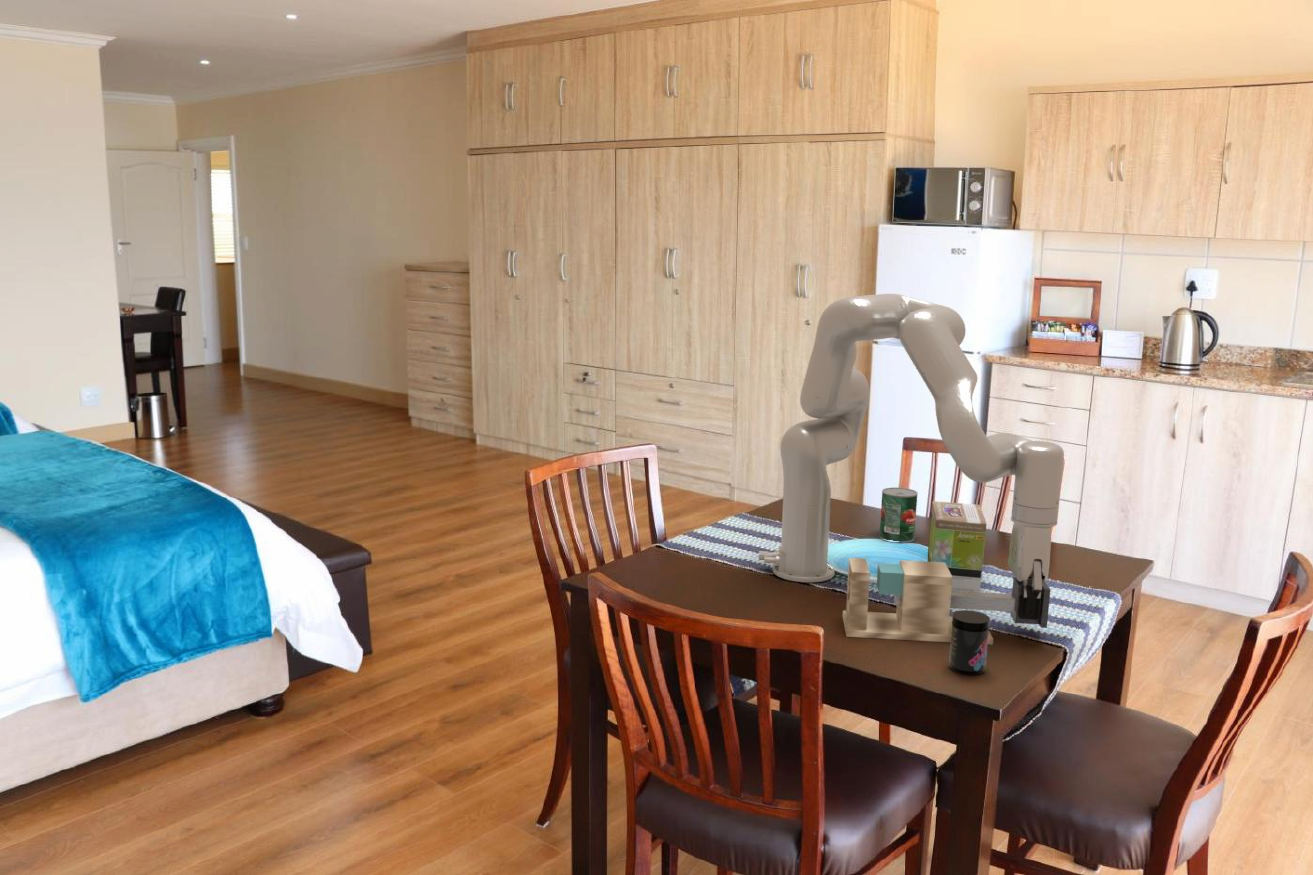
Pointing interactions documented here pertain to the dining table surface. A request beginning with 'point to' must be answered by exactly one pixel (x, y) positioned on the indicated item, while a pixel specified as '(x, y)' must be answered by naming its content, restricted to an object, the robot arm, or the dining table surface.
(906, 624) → the wooden slotted block
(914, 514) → the canned tomato
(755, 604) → the dining table surface
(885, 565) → the spacer
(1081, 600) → the dining table surface
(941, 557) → the tea box
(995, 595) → the shaft
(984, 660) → the supplement container
